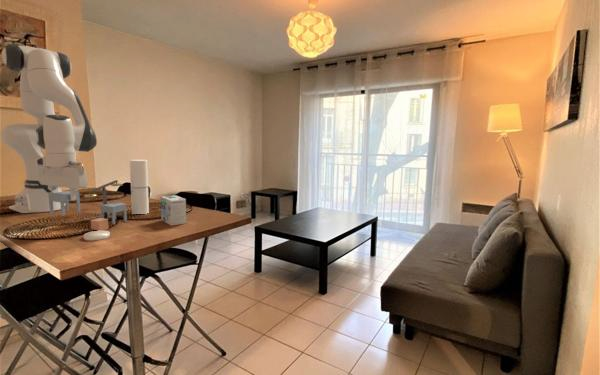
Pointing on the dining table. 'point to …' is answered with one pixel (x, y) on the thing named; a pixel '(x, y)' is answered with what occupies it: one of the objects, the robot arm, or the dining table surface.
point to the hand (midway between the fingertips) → (64, 198)
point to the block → (99, 224)
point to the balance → (103, 196)
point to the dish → (96, 235)
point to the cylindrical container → (139, 186)
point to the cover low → (62, 201)
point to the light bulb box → (173, 210)
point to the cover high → (114, 210)
